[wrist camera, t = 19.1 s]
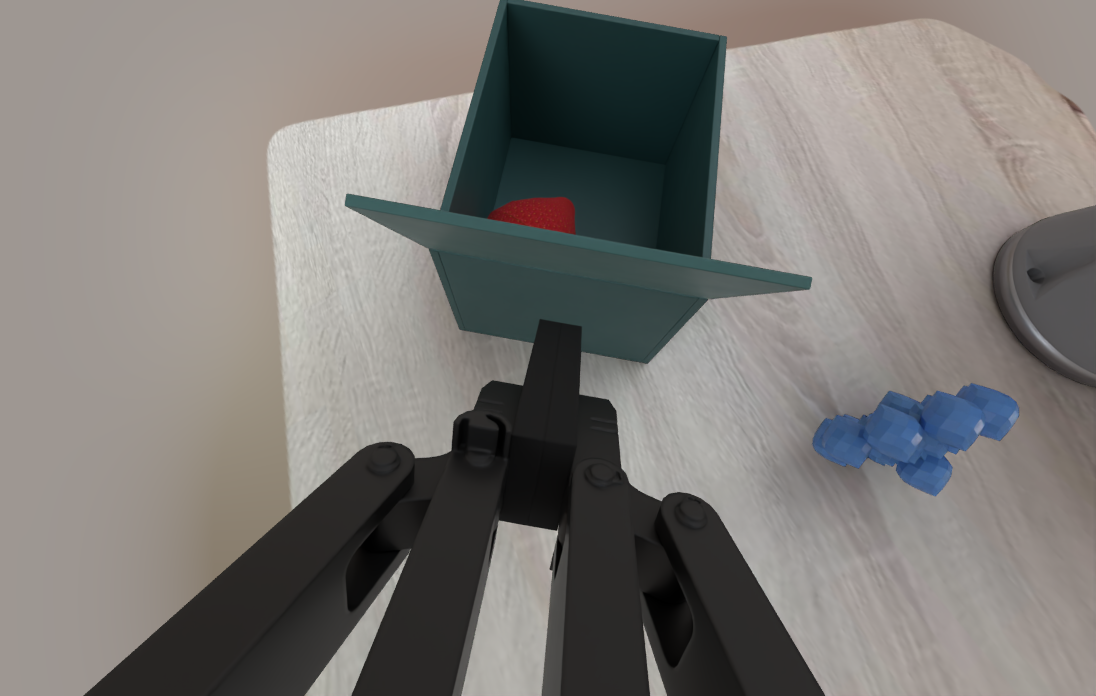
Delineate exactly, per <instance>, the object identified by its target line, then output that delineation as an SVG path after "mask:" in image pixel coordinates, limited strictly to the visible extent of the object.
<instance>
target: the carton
mask: <svg viewBox="0 0 1096 696" xmlns="http://www.w3.org/2000/svg"><path fill="white" fill-rule="evenodd" d="M726 44H727V37H726V36H719V35H715V34H710V33H704V32H699V31H693V30H687V29H681V28H676V27H670V26H665V25H659V24H654V23H648V22H642V21H637V20H631V19H625V18H619V17H614V16H609V15H602V14H598V13H592V12H586V11H581V10H575V9H569V8H563V7H558V6H553V5H547V4H542V3H536V2H530V1H524V0H500V2H499V5H498V9H497V12H496V16H495V20H494V23H493V27H492V30H491V34H490V37H489V41H488V44H487V48H486V51H485V55H484V58H483V62H482V65H481V69H480V72H479V76H478V79H477V83H476V86H475V90H474V93H473V97H472V100H471V104H470V107H469V111H468V114H467V118H466V121H465V125H464V128H463V132H462V135H461V139H460V142H459V146H458V149H457V153H456V157H455V160H454V164H453V167H452V171H451V174H450V178H449V181H448V185H447V188H446V192H445V195H444V199H443V202H442V206H441V209H440V210H441V211H447V212H452V213H458V214H464V215H469V216H475V217H480V218H486V219H487V218H488V216H489V214H490V213H491V212H492V211H494V210H496V209H498V208H500V207H502V206H504V205H505V204H507V203H509V202H511V201H516V200H523V199H530V198H556V197H565V198H567V199H569V200H570V201H571V202H572V203H573V205H574V208H575V232H576V235H580V236H586V237H591V238H597V239H602V240H608V241H613V242H619V243H625V244H630V245H636V246H641V247H647V248H652V249H658V250H663V251H669V252H675V253H680V254H686V255H691V256H697V257H702V258H708V259H711V249H712V236H713V222H714V208H715V194H716V181H717V167H718V153H719V140H720V126H721V112H722V99H723V85H724V71H725V58H726ZM429 251H430V254H431V256H432V259H433V261H434V264H435V267H436V269H437V272H438V275H439V277H440V280H441V282H442V285H443V288H444V290H445V293H446V295H447V298H448V301H449V303H450V306H451V308H452V311H453V314H454V316H455V319H456V321H457V324H458V327H459V329H460V330H465V331H470V332H476V333H481V334H487V335H492V336H498V337H503V338H509V339H515V340H520V341H526V342H531V343H534V341H535V337H536V332H537V328H538V324H539V320H540V319H543V320H549V321H554V322H560V323H566V324H571V325H577V326H582V339H581V352H586V353H592V354H597V355H603V356H608V357H614V358H620V359H625V360H631V361H636V362H642V363H649V362H650V360H651V359H652V358H653V357H654V356H655V355H656V354H657V353H658V352H659V351H660V350H661V349H662V348H663V347H664V346H665V345H666V344H667V343H668V341H669V340H670V339H671V338H672V337H673V336H674V335H675V334H676V333H677V332H678V331H679V330H680V329H681V328H682V327H683V326H684V325H685V324H686V322H687V321H688V320H689V319H690V318H691V317H692V316H693V315H694V314H695V313H696V312H697V311H698V310H699V309H700V308H701V307H702V306H703V305H704V303H705V302H706V301H707V300H708V299H707V298H702V297H696V296H691V295H685V294H680V293H674V292H669V291H663V290H657V289H652V288H646V287H641V286H635V285H630V284H624V283H619V282H613V281H608V280H602V279H596V278H591V277H585V276H580V275H574V274H569V273H563V272H558V271H552V270H547V269H541V268H535V267H530V266H524V265H519V264H513V263H508V262H502V261H497V260H491V259H486V258H480V257H474V256H469V255H463V254H458V253H452V252H447V251H441V250H436V249H430V248H429Z"/></svg>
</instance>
